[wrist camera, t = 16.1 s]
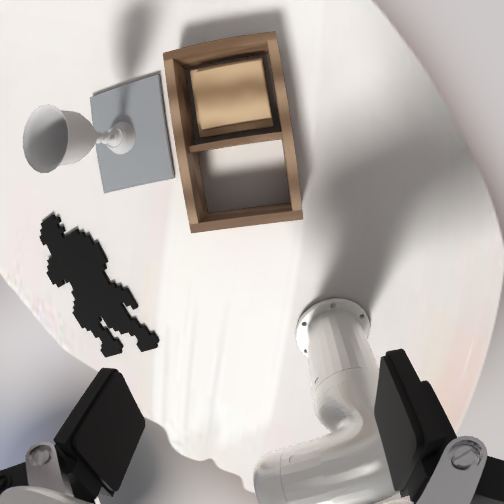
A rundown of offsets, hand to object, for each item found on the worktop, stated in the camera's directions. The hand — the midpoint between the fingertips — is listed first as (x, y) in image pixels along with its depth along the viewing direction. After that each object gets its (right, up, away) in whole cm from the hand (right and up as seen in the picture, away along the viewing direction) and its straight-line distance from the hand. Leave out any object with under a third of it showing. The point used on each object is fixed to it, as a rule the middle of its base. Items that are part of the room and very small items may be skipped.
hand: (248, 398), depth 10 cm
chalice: (-19, +22, +32) cm, 43 cm away
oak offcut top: (-2, +26, +28) cm, 38 cm away
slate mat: (-18, +23, +32) cm, 43 cm away
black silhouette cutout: (-30, -1, +42) cm, 51 cm away
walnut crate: (-2, +22, +31) cm, 38 cm away
